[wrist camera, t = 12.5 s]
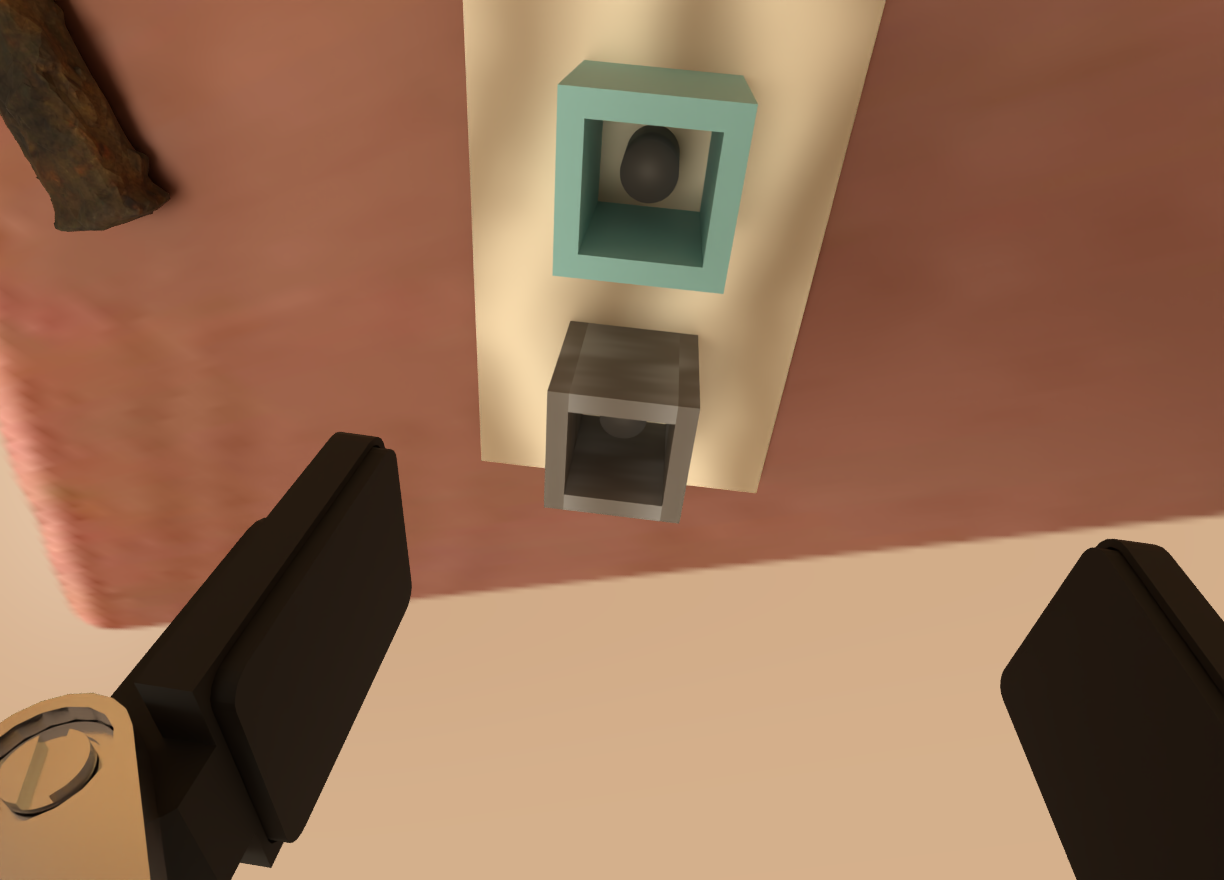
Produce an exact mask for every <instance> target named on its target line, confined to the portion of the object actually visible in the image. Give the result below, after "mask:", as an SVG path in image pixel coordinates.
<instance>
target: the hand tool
mask: <svg viewBox="0 0 1224 880" xmlns="http://www.w3.org/2000/svg"><path fill="white" fill-rule="evenodd" d="M0 115H1V116H2V118H3V120H4V122H5V124H6V125H7V127H8V128H9V130H10V131H11V133H12V134H13V136H14V138H15V140H16V141H17V142H18V144H19V145H20V147H21V149H22V151H23V154H24V156H25V157H26V158H27V159H28V161H29V162H30V164H31V166H32V168H33V170H34V171H35V173H36V175H37V177H36V178H38V179H39V180H40V182H41V183H42V185H43V186H44V188H45V189H46V191H47V192H48V193H49V195H50V197H51V201H52V204H53V207H54V210H55V223H54V226H55V228H56V229H58V230H60V231H67V232H72V231H88V230H93V231H97V230H106V229H108V228H111V227H114V226H117V225H120V224H124V223H127V222H130V221H132V220H135V219H137V218H140V217H143V216H146V215H149V214H153V211H154V210H157V209H158V208H160V207H161V206H162V205H163V204H164V203H166V202H167V201H168V200H169V199H170V194H168V193H167V192H166V191H164V190H163V189H161V188H160V187H158V186H157V185H156V184H154V183H153V182H152V181H151V179H150V178H149V177H148V176H147V175H148V172H149V157H147V156H146V155H145V154H143V153H141V152H138V151H135V150H134V148H133V147H132V145H131V144H130V142H129V141H128V139H127V137H126V136H125V134H124V132H123V130H122V128H121V127H120V125H119V123H118V121H117V119H116V118H115V116H114V114H113V111H112V109H111V107H110V105H109V103H108V101H107V99H106V98H105V96H104V95H103V93H102V92H101V90H100V88H99V87H98V85H97V83H96V82H95V80H94V79H93V77H92V75H91V73H90V72H89V70H88V68H87V66H86V64H85V62H84V60H83V59H82V57H81V55H80V53H79V51H78V49H77V48H76V46H75V44H74V42H73V40H72V38H71V36H70V34H69V32H68V30H67V28H66V26H65V21H64V14H63V10H62V9H61V8H60V7H59V6H58V5H57V4H56V3H55V2H54V1H53V0H0Z"/></svg>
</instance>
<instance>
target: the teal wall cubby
mask: <svg viewBox="0 0 1224 880" xmlns="http://www.w3.org/2000/svg"><path fill="white" fill-rule="evenodd" d="M757 107H758V103H757V101H756V99H755V97H754V95H753V93H752V92H751V90H750V88H749V86H748V84H747V82H746V80H745V78H744V76H743V75H732V74H722V73H712V72H702V71H692V70H681V69H671V68H661V67H651V66H641V65H630V64H620V63H610V62H600V61H590V60H584V61H582V62H581V63H580V64H579V65H578V66H577V67H576V68H575V69H574V70H573V71H572V72H570V73H569V74H568V75H567V76H566V77H565V78H564V79H563V80H562V81H561V82H560V83H559V84H558V85H557V123H556V160H555V198H554V236H553V274H552V276H560V277H570V278H579V279H588V280H598V281H607V282H616V283H625V284H635V285H644V286H653V287H662V288H672V289H681V290H690V291H700V292H709V293H718V294H724V288H725V283H726V277H727V272H728V266H729V261H730V256H731V250H732V245H733V239H734V234H735V228H736V223H737V217H738V212H739V206H740V201H741V195H742V190H743V184H744V179H745V173H746V168H747V162H748V157H749V151H750V146H751V140H752V135H753V129H754V124H755V118H756V113H757ZM603 120H605V121H615V122H624V123H634V124H644V125H654V126H664V127H674V128H684V129H694V130H704V131H712V133H711V140H710V147H709V153H708V160H707V167H706V173H705V180H704V187H703V193H702V200H701V207H700V212H697V211H687V210H678V209H668V208H659V207H649V206H639V205H630V204H620V203H611V202H601V201H598V193H599V177H600V161H601V145H602V129H603Z"/></svg>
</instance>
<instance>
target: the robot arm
mask: <svg viewBox="0 0 1224 880" xmlns="http://www.w3.org/2000/svg"><path fill="white" fill-rule="evenodd" d="M411 588H412V584H411V574H410V566H409V558H408V549H407V541H406V533H405V524H404V516H403V508H402V499H401V491H400V483H399V475H398V466H397V458H396V454H395V452H394V451H393V450H391V449H385V446H384V443H383V441H382V439H381V438H379V437H374V436H367V435H360V434H352V433H345V432H337V433H335V434H334V435H333V436H332V437H331V438H330V439H329V440H328V441H327V443H326V444H325V445H324V446H323V448H322V449H321V450H320V451H319V453H318V454H317V455H316V456H315V458H314V459H313V460H312V461H311V463H310V464H309V465H308V466H307V468H306V469H305V470H304V471H303V473H302V474H301V475H300V476H299V478H298V479H297V480H296V481H295V483H294V484H293V485H292V486H291V488H290V489H289V490H288V491H287V493H286V494H285V495H284V496H283V498H282V499H281V500H280V501H279V502H278V504H277V505H276V506H275V507H274V509H273V510H272V511H271V512H270V514H269V515H268V516H267V517H266V518H263V519H261V520H258V521H256V522H255V523H254V524H253V525H252V526H251V527H250V528H249V529H248V530H247V531H246V532H245V533H244V535H243V536H242V537H241V538H240V539H239V541H238V542H237V543H236V544H235V546H234V547H233V548H232V549H231V550H230V552H229V553H228V554H227V555H226V557H225V558H224V559H223V560H222V561H221V563H220V564H219V565H218V566H217V568H216V569H215V570H214V571H213V572H212V574H211V575H210V576H209V577H208V579H207V580H206V581H205V582H204V583H203V585H202V586H201V587H200V588H199V590H198V591H197V592H196V593H195V594H194V596H193V597H192V598H191V599H190V600H189V602H188V603H187V604H186V605H185V607H184V608H183V609H182V610H181V611H180V613H179V614H178V615H177V616H176V618H175V619H174V620H173V621H172V622H171V624H170V625H169V626H168V627H167V629H166V630H165V631H164V632H163V633H162V635H161V636H160V637H159V638H158V640H157V641H156V642H155V643H154V644H153V646H152V647H151V648H150V649H149V651H148V652H147V653H146V654H145V656H144V657H143V658H142V659H141V660H140V662H139V663H138V664H137V665H136V666H135V668H134V669H133V670H132V672H131V673H130V674H129V675H128V676H127V677H126V679H125V680H124V681H123V682H122V684H121V685H120V686H119V687H118V688H117V690H116V691H115V692H114V693H113V695H112V696H111V697H107V696H103V695H99V694H95V693H83V694H67V695H63V696H60V697H56V698H52V699H48V700H44V701H41V702H39V703H36V704H34V705H32V706H30V707H28V708H26V709H23V710H21V711H19V712H17V713H15V714H13V715H11V716H10V717H8V718H7V719H5V720H4V721H2V722H1V723H0V880H231V878H232V876H233V875H234V873H235V871H236V869H237V867H238V865H239V863H245V864H252V865H258V866H264V867H269V868H271V867H272V865H273V863H274V861H275V859H276V857H277V855H278V853H279V851H280V848H281V847H282V844H283V842H287V843H292V842H294V841H295V840H297V839H298V837H299V836H300V834H301V833H302V831H303V829H304V827H305V826H306V823H307V821H308V819H309V817H310V815H311V813H312V811H313V808H314V806H315V804H316V802H317V800H318V798H319V796H320V793H321V791H322V789H323V787H324V785H325V783H326V781H327V779H328V776H329V774H330V772H331V770H332V768H333V766H334V764H335V761H336V759H337V757H338V755H339V753H340V751H341V748H342V746H343V744H344V742H345V740H346V738H347V736H348V734H349V731H350V729H351V727H352V725H353V723H354V721H355V719H356V717H357V714H358V712H359V710H360V708H361V706H362V704H363V701H364V699H365V697H366V695H367V693H368V691H369V689H370V687H371V684H372V682H373V680H374V678H375V676H376V674H377V672H378V669H379V667H380V665H381V663H382V661H383V659H384V657H385V654H386V652H387V650H388V648H389V646H390V644H391V642H392V640H393V637H394V635H395V633H396V631H397V629H398V627H399V624H400V622H401V620H402V618H403V616H404V614H405V611H406V609H407V607H408V604H409V600H410V596H411ZM1000 688H1001V694H1002V698H1003V701H1004V703H1005V706H1006V708H1007V710H1008V713H1009V715H1010V718H1011V720H1012V723H1013V725H1014V728H1015V730H1016V732H1017V735H1018V737H1019V740H1020V742H1021V744H1022V747H1023V750H1024V752H1025V754H1026V757H1027V759H1028V762H1029V764H1030V767H1031V769H1032V771H1033V774H1034V777H1035V779H1036V781H1037V784H1038V786H1039V789H1040V791H1041V794H1042V796H1043V798H1044V801H1045V803H1046V806H1047V808H1048V811H1049V813H1050V816H1051V818H1052V821H1053V823H1054V825H1055V828H1056V830H1057V833H1058V835H1059V838H1060V840H1061V843H1062V845H1063V847H1064V850H1065V852H1066V854H1067V857H1068V860H1069V862H1070V864H1071V867H1072V869H1073V872H1074V874H1075V877H1076V879H1077V880H1224V621H1223V620H1222V619H1221V618H1220V617H1219V615H1218V614H1217V613H1216V611H1215V610H1214V609H1213V608H1212V606H1211V605H1210V604H1209V603H1208V601H1207V600H1206V599H1205V598H1204V596H1203V595H1202V594H1201V593H1200V591H1199V590H1198V589H1197V588H1196V586H1195V585H1194V584H1193V583H1192V581H1191V580H1190V579H1189V577H1188V576H1187V575H1186V574H1185V573H1184V571H1183V570H1182V569H1181V567H1180V566H1179V565H1178V564H1177V563H1176V561H1175V560H1174V559H1173V557H1172V556H1171V555H1170V554H1169V553H1168V552H1167V551H1166V550H1165V549H1164V548H1162V547H1160V546H1157V545H1153V544H1146V543H1140V542H1132V541H1125V540H1118V539H1106V540H1104V541H1102V542H1100V543H1099V544H1098V545H1097V546H1096V547H1095V548H1089V549H1087V550H1086V551H1085V552H1084V553H1083V554H1082V555H1081V557H1080V558H1079V560H1078V561H1077V563H1076V564H1075V566H1074V567H1073V569H1072V570H1071V572H1070V573H1069V575H1068V576H1067V578H1066V579H1065V580H1064V582H1063V583H1062V585H1061V587H1060V588H1059V589H1058V591H1057V592H1056V594H1055V595H1054V597H1053V598H1052V600H1051V601H1050V603H1049V604H1048V606H1047V607H1046V609H1045V610H1044V611H1043V613H1042V615H1041V616H1040V618H1039V619H1038V620H1037V622H1036V623H1035V625H1034V626H1033V628H1032V629H1031V631H1030V632H1029V634H1028V635H1027V637H1026V638H1025V640H1024V641H1023V643H1022V644H1021V646H1020V647H1019V648H1018V650H1017V651H1016V653H1015V654H1014V656H1013V657H1012V659H1011V660H1010V662H1009V664H1008V665H1007V666H1006V668H1005V669H1004V671H1003V673H1002V676H1001V684H1000Z"/></svg>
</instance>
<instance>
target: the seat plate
mask: <svg viewBox="0 0 1224 880" xmlns="http://www.w3.org/2000/svg"><path fill="white" fill-rule="evenodd" d="M885 2H886V0H463V14H464V39H465V64H466V88H467V113H468V138H469V163H470V188H471V213H472V237H473V262H474V287H475V312H476V337H477V362H478V386H479V411H480V436H481V461H489V462H498V463H506V464H515V465H523V466H531V467H540V468H545V490H544V507H547V508H555V509H563V510H571V511H580V512H588V513H596V514H605V515H613V516H621V517H629V518H638V519H646V520H654V521H663V522H671V523H679V522H680V517H681V511H682V506H683V500H684V495H685V490H686V485H691V486H700V487H708V488H716V489H725V490H733V491H742V492H750V493H756V492H757V488H758V484H759V480H760V477H761V473H762V469H763V465H764V461H765V458H766V454H767V450H768V446H769V442H770V439H771V435H772V431H773V427H774V423H775V420H776V416H777V412H778V408H779V404H780V401H781V397H782V393H783V389H784V385H785V382H786V378H787V374H788V370H789V366H790V363H791V359H792V355H793V351H794V347H795V344H796V340H797V336H798V332H799V328H800V325H801V321H802V317H803V313H804V309H805V306H806V302H807V298H808V294H809V290H810V287H811V283H812V279H813V275H814V271H815V268H816V264H817V260H818V256H819V252H820V249H821V245H822V241H823V237H824V233H825V230H826V226H827V222H828V218H829V214H830V211H831V207H832V203H833V199H834V195H835V192H836V188H837V184H838V180H839V176H840V173H841V169H842V165H843V161H844V157H845V154H846V150H847V146H848V142H849V138H850V135H851V131H852V127H853V123H854V119H855V116H856V112H857V108H858V104H859V100H860V97H861V93H862V89H863V85H864V81H865V78H866V74H867V70H868V66H869V62H870V59H871V55H872V51H873V47H874V43H875V40H876V36H877V32H878V28H879V24H880V21H881V17H882V13H883V9H884V5H885ZM584 60H590V61H600V62H610V63H620V64H630V65H641V66H651V67H661V68H671V69H681V70H692V71H702V72H712V73H722V74H732V75H743V76H744V78H745V80H746V82H747V84H748V86H749V88H750V90H751V92H752V93H753V95H754V97H755V99H756V101H757V103H758V107H757V113H756V118H755V124H754V129H753V135H752V140H751V146H750V151H749V157H748V162H747V168H746V173H745V179H744V184H743V190H742V195H741V201H740V206H739V212H738V217H737V223H736V228H735V234H734V239H733V245H732V250H731V256H730V261H729V266H728V272H727V277H726V283H725V288H724V294H718V293H709V292H700V291H690V290H681V289H672V288H662V287H653V286H644V285H635V284H625V283H616V282H607V281H598V280H588V279H579V278H570V277H560V276H552V274H553V236H554V198H555V160H556V123H557V85H558V84H559V83H560V82H561V81H562V80H563V79H564V78H565V77H566V76H567V75H568V74H569V73H570V72H572V71H573V70H574V69H575V68H576V67H577V66H578V65H579V64H580V63H581V62H582V61H584ZM711 133H712V131H704V130H694V129H684V128H674V127H664V126H654V125H644V124H634V123H624V122H615V121H605V120H603V129H602V145H601V161H600V177H599V193H598V201H601V202H611V203H620V204H630V205H639V206H649V207H659V208H668V209H678V210H687V211H697V212H700V207H701V200H702V193H703V187H704V180H705V173H706V167H707V160H708V153H709V147H710V140H711Z"/></svg>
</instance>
